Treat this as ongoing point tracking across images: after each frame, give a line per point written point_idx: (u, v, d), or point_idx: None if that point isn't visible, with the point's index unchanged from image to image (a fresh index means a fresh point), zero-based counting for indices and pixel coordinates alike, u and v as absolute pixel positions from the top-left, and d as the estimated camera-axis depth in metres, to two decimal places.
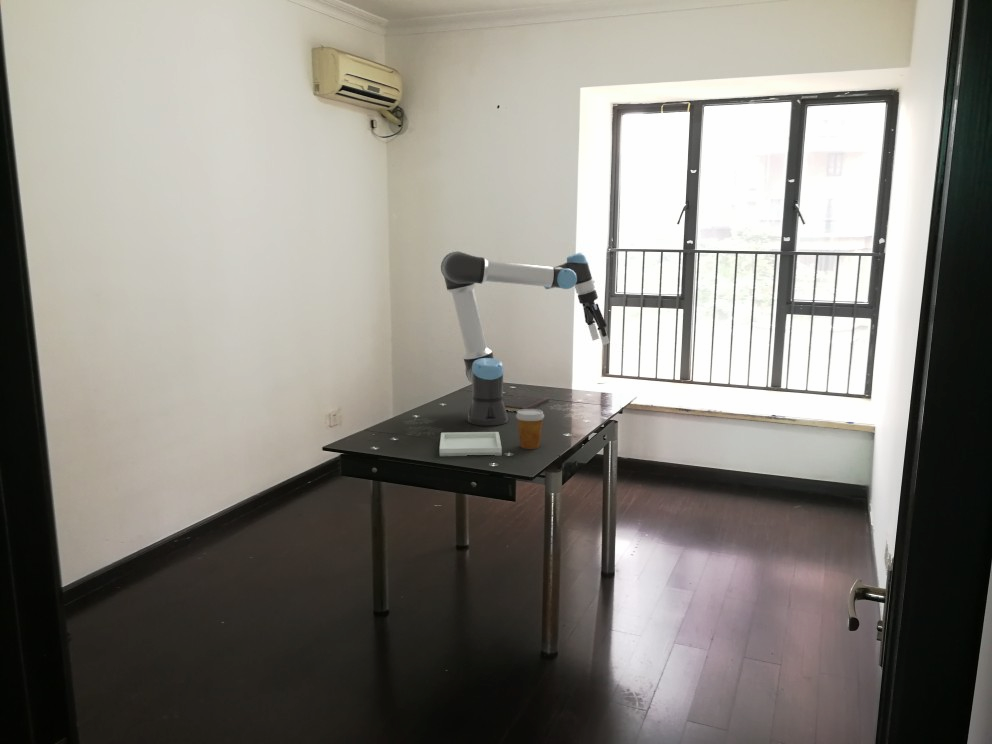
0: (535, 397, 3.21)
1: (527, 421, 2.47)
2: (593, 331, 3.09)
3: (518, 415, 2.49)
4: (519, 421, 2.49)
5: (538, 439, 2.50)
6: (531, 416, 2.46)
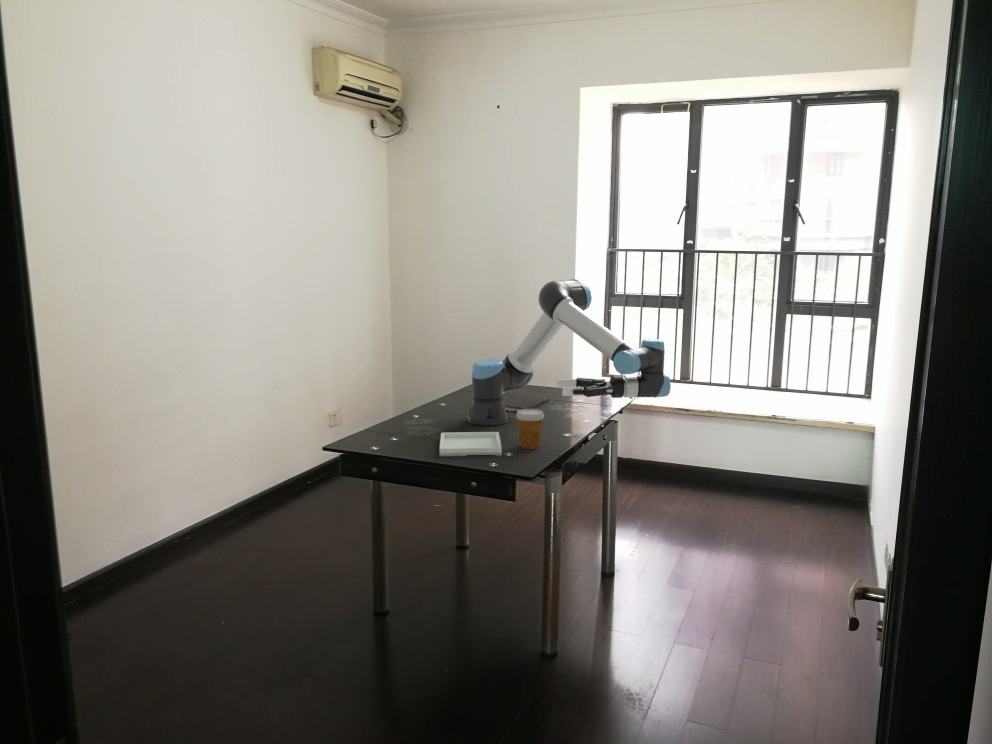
0: (535, 397, 3.21)
1: (527, 421, 2.47)
2: (567, 383, 2.56)
3: (518, 415, 2.49)
4: (519, 421, 2.49)
5: (538, 439, 2.50)
6: (531, 416, 2.46)
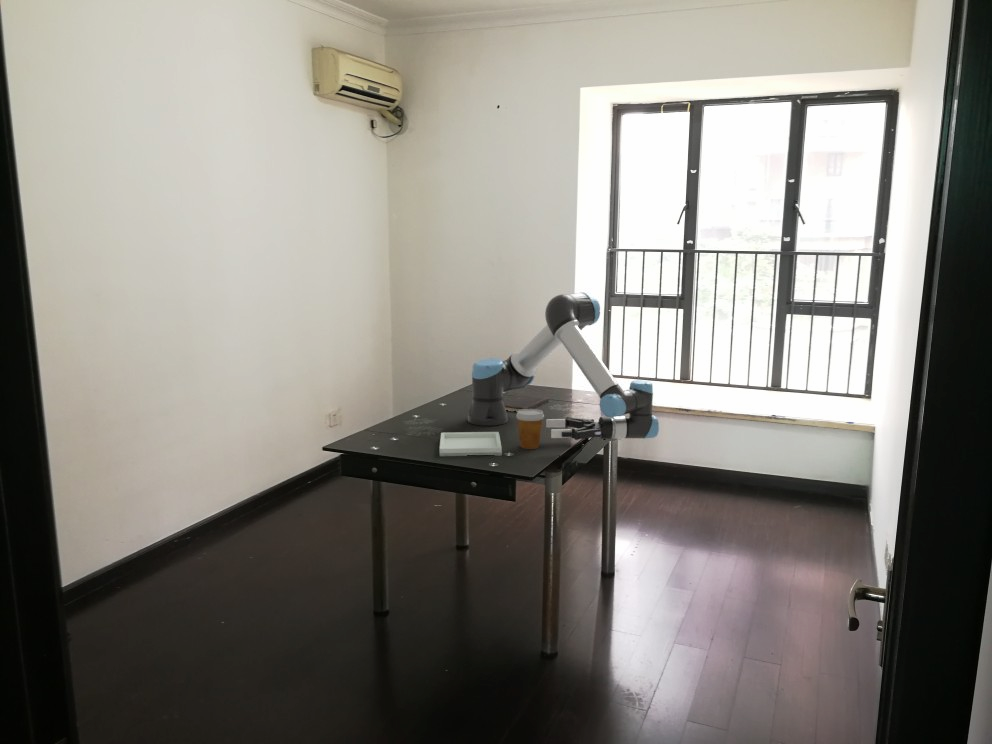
0: (535, 397, 3.21)
1: (527, 421, 2.47)
2: (556, 423, 2.58)
3: (518, 415, 2.49)
4: (519, 421, 2.49)
5: (538, 439, 2.50)
6: (531, 416, 2.46)
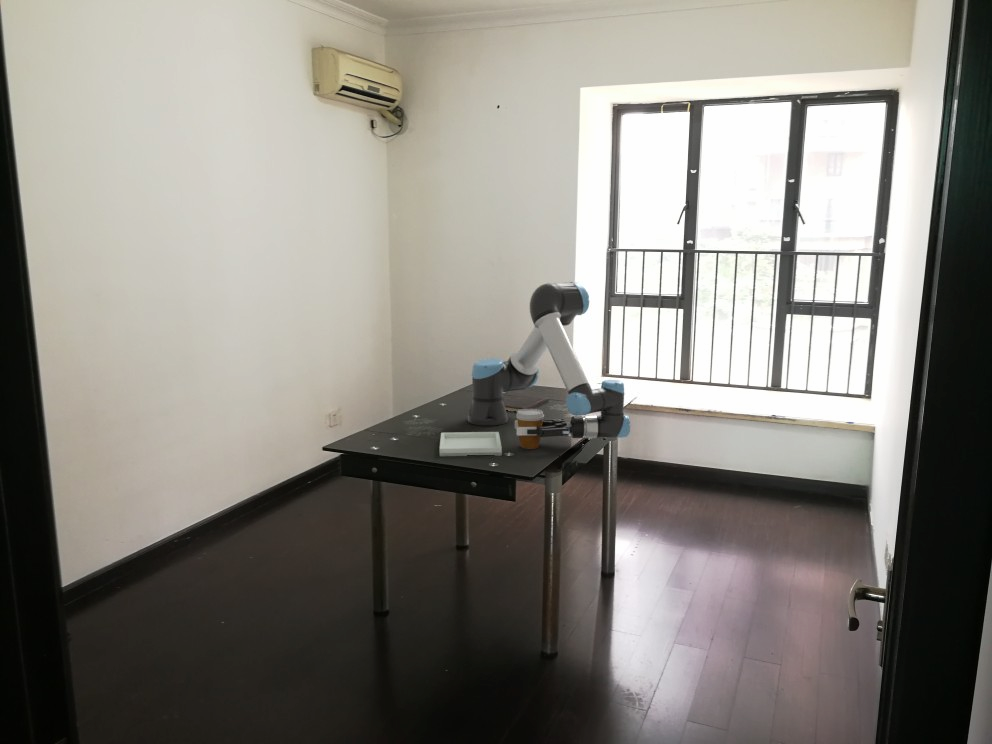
0: (535, 397, 3.21)
1: (527, 420, 2.47)
2: None
3: (518, 415, 2.49)
4: (519, 421, 2.49)
5: (538, 439, 2.50)
6: (531, 416, 2.46)
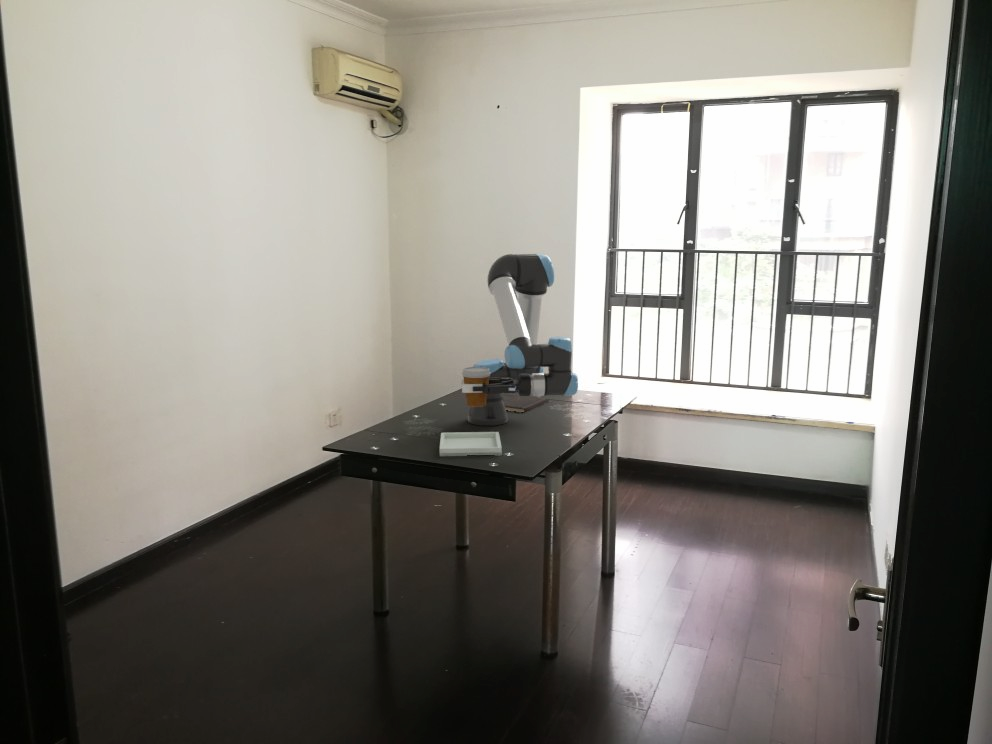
0: (535, 397, 3.21)
1: (473, 377, 2.42)
2: None
3: (464, 372, 2.45)
4: (465, 378, 2.45)
5: (484, 397, 2.46)
6: (477, 373, 2.42)
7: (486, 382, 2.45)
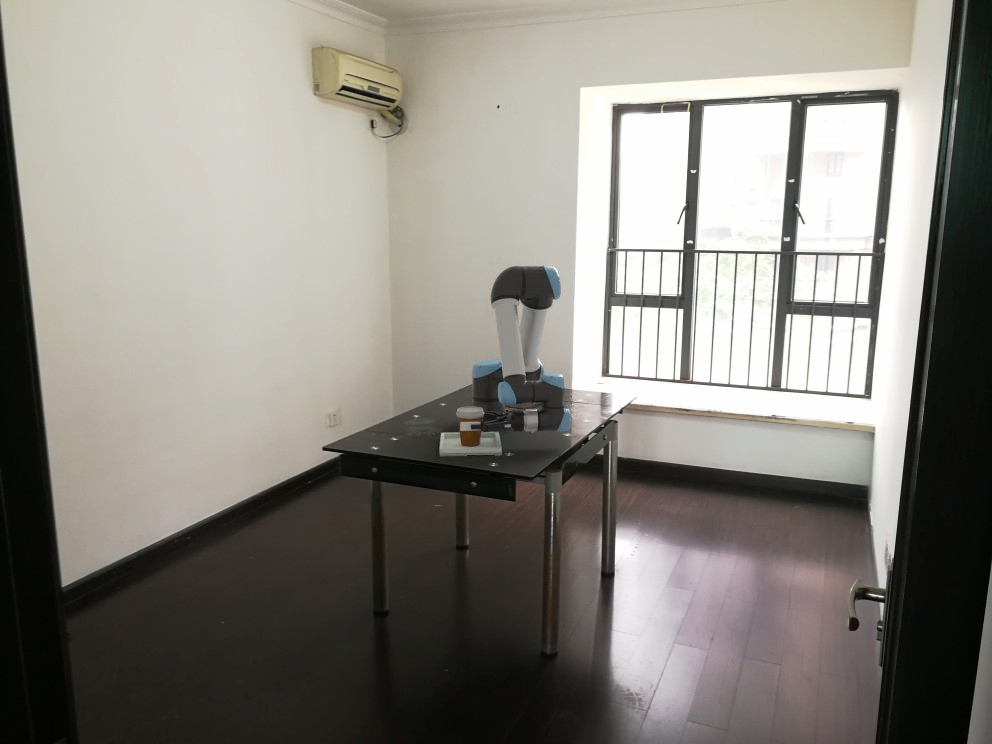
0: None
1: (466, 418, 2.46)
2: None
3: (458, 413, 2.48)
4: (459, 419, 2.48)
5: (478, 437, 2.49)
6: (470, 413, 2.46)
7: (480, 422, 2.48)
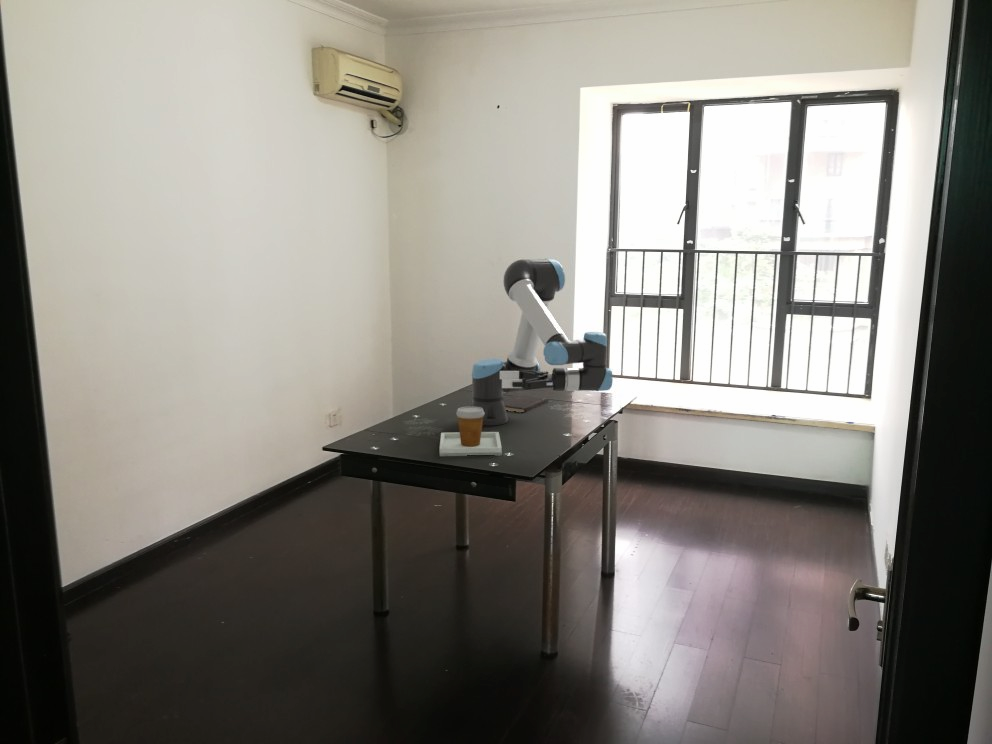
0: (534, 397, 3.21)
1: (466, 418, 2.46)
2: (510, 374, 2.54)
3: (458, 412, 2.48)
4: (459, 419, 2.48)
5: (478, 437, 2.49)
6: (470, 413, 2.46)
7: (480, 422, 2.48)
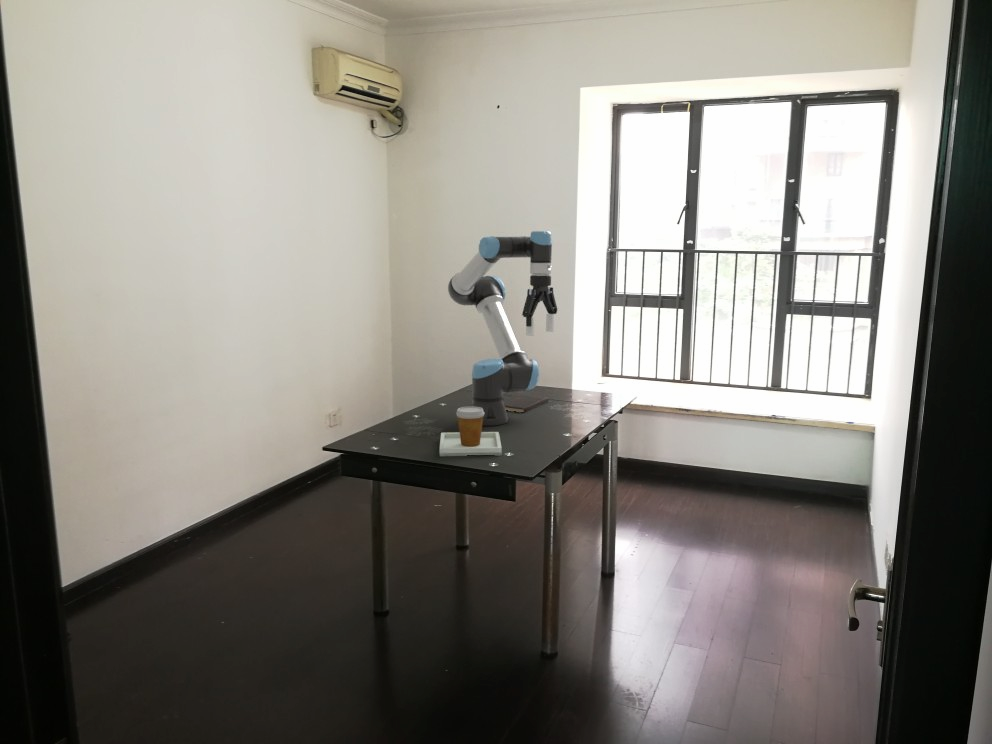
0: (534, 397, 3.21)
1: (466, 418, 2.46)
2: (549, 321, 2.78)
3: (458, 413, 2.48)
4: (459, 419, 2.48)
5: (478, 437, 2.49)
6: (470, 414, 2.46)
7: (480, 422, 2.48)
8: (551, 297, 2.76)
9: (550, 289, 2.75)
